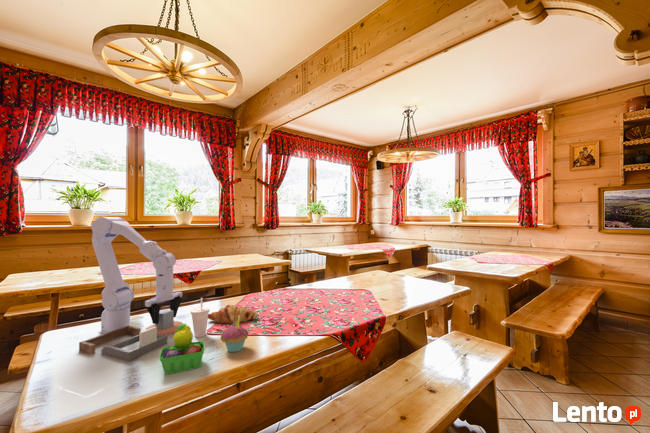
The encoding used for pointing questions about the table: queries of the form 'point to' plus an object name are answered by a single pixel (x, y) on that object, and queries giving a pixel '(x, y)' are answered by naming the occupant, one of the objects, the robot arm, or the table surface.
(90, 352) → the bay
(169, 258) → the robot arm
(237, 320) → the figurine
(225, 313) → the croissant
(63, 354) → the table surface
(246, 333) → the cupcake
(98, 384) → the table surface
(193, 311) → the smoothie
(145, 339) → the grey square tray
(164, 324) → the grey block
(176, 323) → the plate
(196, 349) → the fruit basket
